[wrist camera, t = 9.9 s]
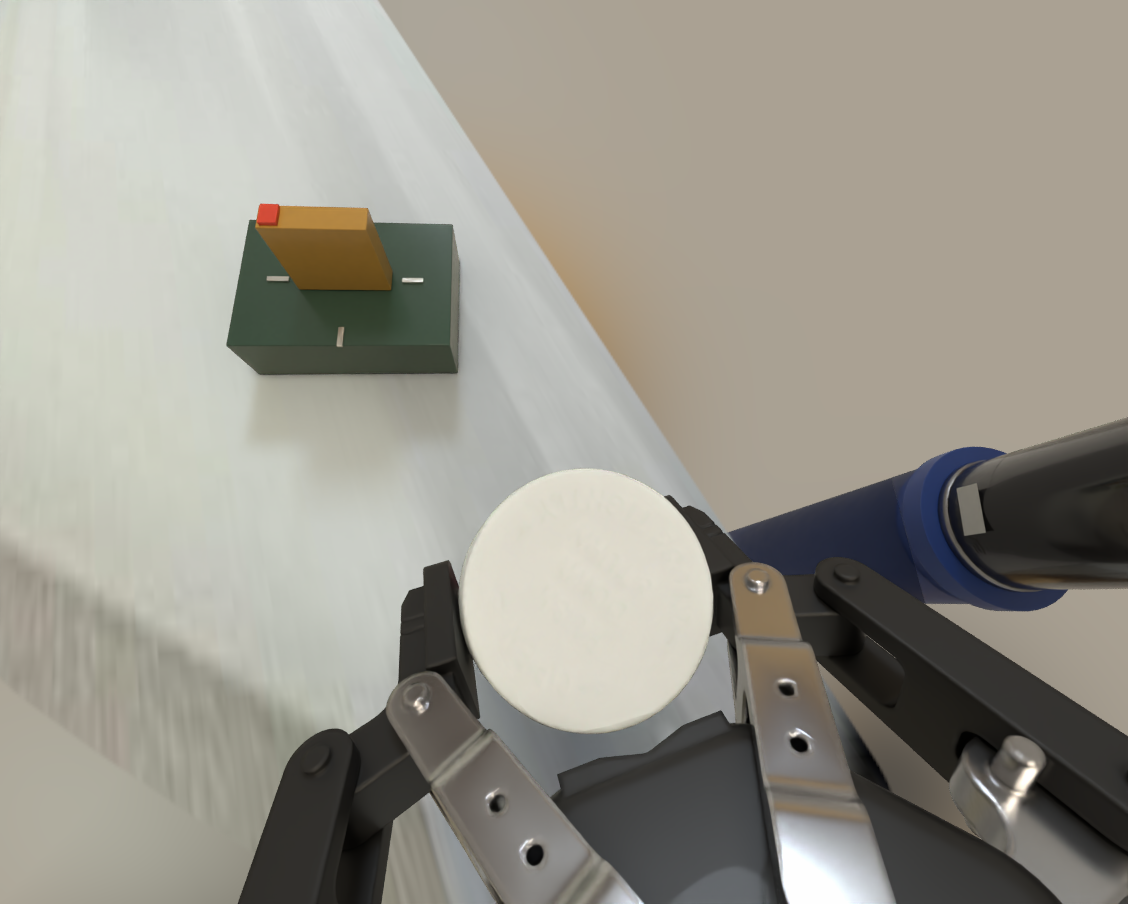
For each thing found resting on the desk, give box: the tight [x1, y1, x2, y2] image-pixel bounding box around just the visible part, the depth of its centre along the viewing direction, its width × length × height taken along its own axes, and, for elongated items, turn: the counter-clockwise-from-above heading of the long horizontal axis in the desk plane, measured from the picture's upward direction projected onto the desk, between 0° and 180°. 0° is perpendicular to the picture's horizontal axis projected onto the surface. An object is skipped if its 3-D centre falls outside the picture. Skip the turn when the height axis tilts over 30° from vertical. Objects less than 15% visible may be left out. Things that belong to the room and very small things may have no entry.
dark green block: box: [227, 220, 459, 374], centre depth 34 cm, size 14×10×4 cm
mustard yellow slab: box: [255, 204, 392, 290], centre depth 29 cm, size 6×2×6 cm, turn 93°
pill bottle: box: [458, 469, 713, 734], centre depth 15 cm, size 6×6×11 cm
